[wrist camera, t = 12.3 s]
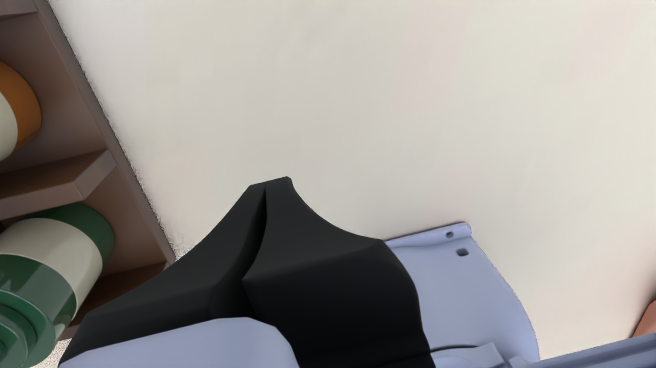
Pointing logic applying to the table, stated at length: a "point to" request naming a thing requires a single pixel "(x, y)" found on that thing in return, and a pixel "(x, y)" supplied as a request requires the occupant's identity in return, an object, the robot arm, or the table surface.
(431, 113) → the table surface
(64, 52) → the rack
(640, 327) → the brown block
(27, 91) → the amber bottle
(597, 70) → the table surface
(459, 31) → the table surface
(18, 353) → the dark green bottle
